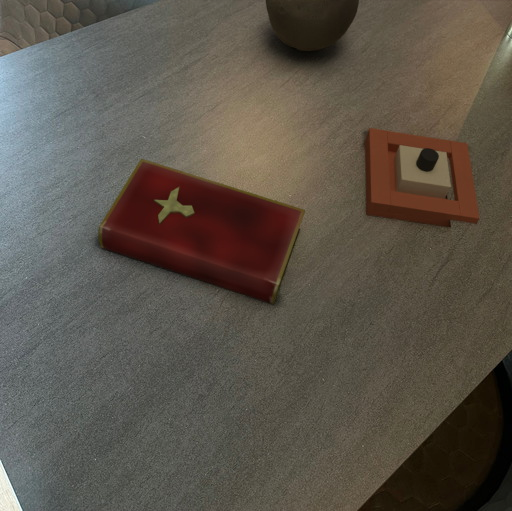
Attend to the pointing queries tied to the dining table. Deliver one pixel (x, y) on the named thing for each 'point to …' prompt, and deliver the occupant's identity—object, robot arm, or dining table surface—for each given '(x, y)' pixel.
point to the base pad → (410, 205)
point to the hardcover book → (203, 230)
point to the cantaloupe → (311, 21)
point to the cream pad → (422, 172)
